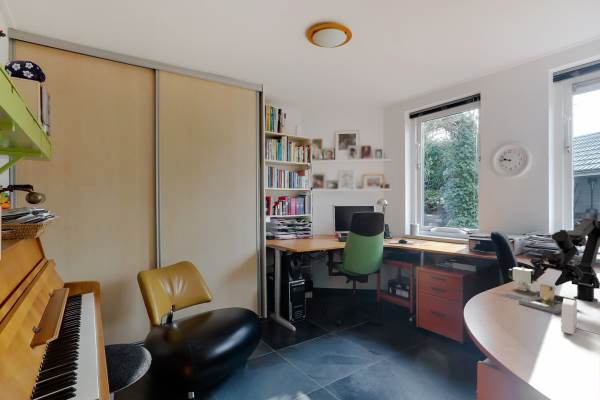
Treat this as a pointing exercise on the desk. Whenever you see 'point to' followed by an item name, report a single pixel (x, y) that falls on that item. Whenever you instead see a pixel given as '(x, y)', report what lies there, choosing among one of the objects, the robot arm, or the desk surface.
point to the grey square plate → (512, 296)
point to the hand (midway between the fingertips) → (544, 282)
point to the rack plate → (535, 303)
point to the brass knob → (547, 294)
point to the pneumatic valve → (522, 277)
